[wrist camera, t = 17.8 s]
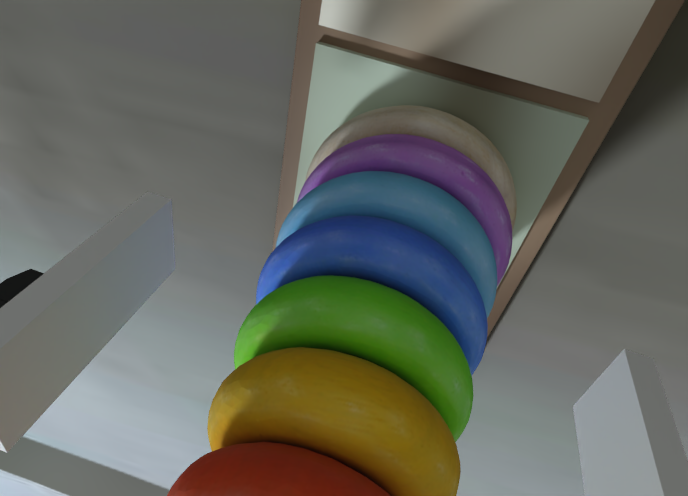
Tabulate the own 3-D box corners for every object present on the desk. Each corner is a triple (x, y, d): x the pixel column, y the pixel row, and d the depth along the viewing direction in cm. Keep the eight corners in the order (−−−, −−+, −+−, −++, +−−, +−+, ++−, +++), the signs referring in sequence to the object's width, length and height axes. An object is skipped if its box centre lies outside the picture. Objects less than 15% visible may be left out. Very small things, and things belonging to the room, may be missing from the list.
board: (262, 363, 29) (256, 374, 28) (362, -456, 10) (352, -482, 10) (432, 424, 28) (430, 438, 27) (889, -369, 9) (920, -392, 8)
